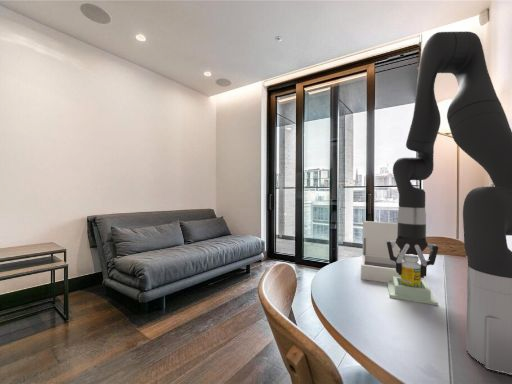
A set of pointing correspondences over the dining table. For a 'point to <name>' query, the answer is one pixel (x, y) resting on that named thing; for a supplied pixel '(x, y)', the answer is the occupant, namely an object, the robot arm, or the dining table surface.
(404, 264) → the supplement bottle
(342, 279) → the dining table surface
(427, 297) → the sage holder
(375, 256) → the case
